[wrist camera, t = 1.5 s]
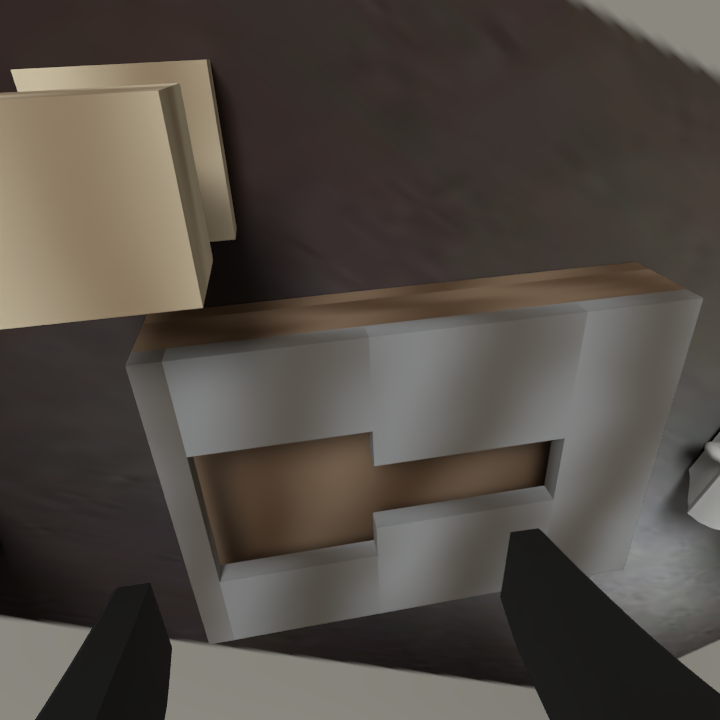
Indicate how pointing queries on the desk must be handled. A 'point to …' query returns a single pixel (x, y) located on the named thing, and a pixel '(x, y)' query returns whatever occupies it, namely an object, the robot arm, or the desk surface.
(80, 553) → the desk surface
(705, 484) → the stamp
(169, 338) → the keyhole base
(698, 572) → the desk surface
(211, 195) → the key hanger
